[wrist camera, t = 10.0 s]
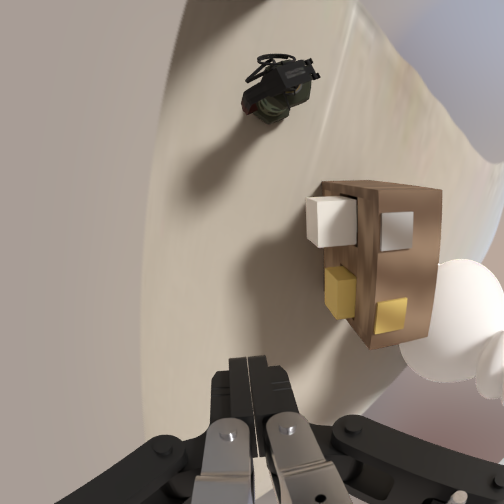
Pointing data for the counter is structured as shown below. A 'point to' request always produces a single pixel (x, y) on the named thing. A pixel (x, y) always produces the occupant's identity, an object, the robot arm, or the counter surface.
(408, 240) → the brown wooden block
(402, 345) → the decorative vase
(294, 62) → the grenade
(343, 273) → the mustard button
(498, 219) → the counter surface
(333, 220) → the ivory button
